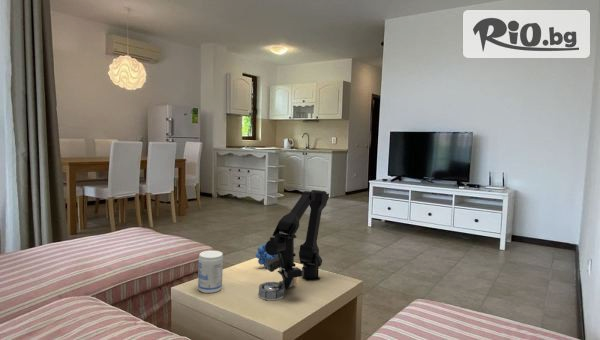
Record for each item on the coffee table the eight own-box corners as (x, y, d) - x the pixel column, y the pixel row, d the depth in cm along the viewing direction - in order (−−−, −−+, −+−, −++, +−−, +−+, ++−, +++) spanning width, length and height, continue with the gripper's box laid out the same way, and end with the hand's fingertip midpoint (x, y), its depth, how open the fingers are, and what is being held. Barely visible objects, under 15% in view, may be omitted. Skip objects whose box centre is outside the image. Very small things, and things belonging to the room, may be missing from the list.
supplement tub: (193, 290, 149) (193, 254, 148) (208, 282, 158) (208, 248, 157) (212, 295, 146) (213, 258, 144) (227, 287, 154) (227, 252, 153)
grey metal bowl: (279, 288, 154) (279, 280, 154) (287, 298, 145) (287, 289, 144) (256, 291, 150) (256, 283, 150) (262, 302, 141) (262, 292, 141)
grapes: (258, 272, 172) (258, 246, 172) (253, 267, 179) (254, 242, 178) (281, 269, 177) (282, 244, 176) (276, 264, 183) (277, 240, 182)
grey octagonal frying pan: (286, 281, 161) (286, 273, 160) (303, 287, 154) (303, 280, 154) (253, 292, 147) (254, 285, 147) (270, 300, 141) (271, 292, 140)
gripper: (260, 247, 155) (260, 285, 155) (275, 257, 138) (275, 299, 138) (285, 245, 160) (285, 282, 160) (303, 254, 143) (303, 295, 143)
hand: (286, 289), depth 150 cm, fingers closed, pressing on grey octagonal frying pan
